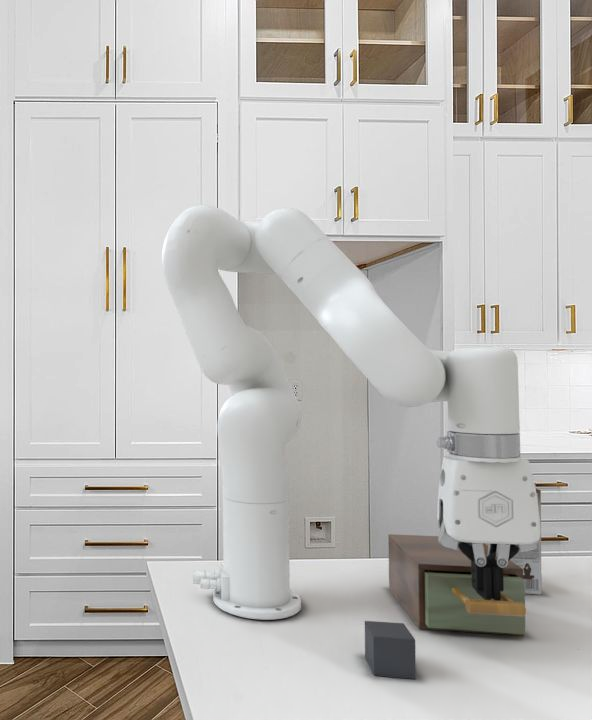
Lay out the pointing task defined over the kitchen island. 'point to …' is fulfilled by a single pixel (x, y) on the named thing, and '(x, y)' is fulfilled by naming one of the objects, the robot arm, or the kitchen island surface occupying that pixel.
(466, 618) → the drawer
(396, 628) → the block
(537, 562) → the coffee box
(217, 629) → the kitchen island surface
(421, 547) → the cabinet
